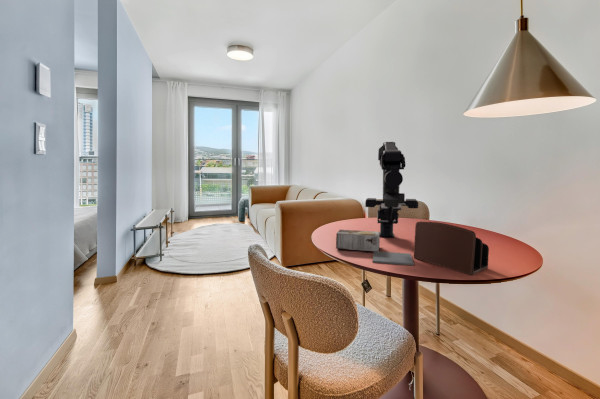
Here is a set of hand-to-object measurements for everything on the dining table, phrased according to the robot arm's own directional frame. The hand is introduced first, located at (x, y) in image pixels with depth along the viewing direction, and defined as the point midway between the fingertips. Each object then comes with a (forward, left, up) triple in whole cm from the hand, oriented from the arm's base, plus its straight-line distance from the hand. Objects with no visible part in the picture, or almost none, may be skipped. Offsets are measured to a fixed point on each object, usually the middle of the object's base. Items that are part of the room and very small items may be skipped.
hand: (390, 225), depth 108 cm
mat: (+11, +1, -10) cm, 14 cm away
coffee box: (+1, -4, -6) cm, 7 cm away
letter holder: (+11, +18, -10) cm, 24 cm away
